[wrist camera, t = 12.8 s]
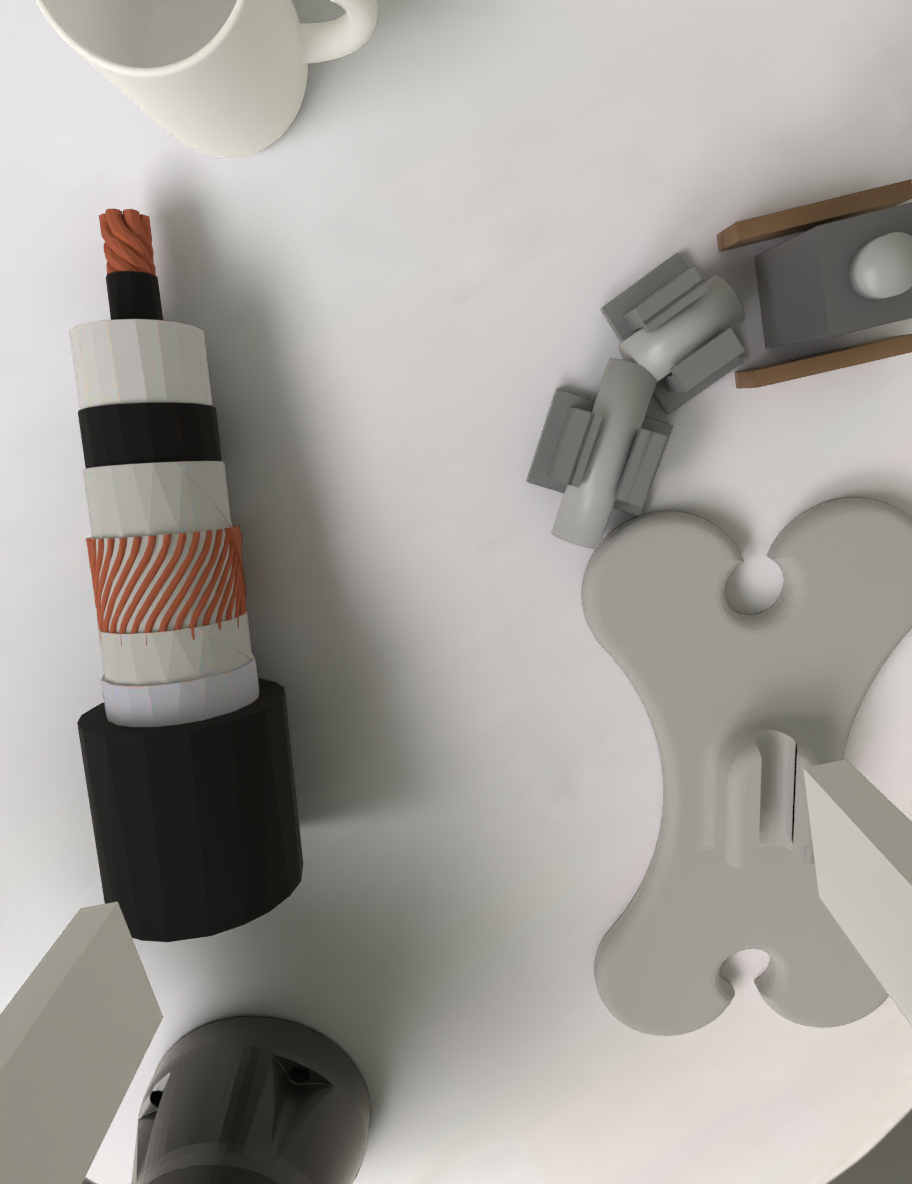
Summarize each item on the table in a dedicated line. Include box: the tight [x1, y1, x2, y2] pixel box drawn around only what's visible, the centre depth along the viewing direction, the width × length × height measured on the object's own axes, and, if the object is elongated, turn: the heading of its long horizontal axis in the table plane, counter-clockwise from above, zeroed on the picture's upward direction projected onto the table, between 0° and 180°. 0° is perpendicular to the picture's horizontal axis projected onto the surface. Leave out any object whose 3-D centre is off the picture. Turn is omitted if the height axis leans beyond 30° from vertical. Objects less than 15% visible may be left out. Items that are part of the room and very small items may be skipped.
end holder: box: [717, 180, 912, 388], centre depth 37 cm, size 8×8×3 cm
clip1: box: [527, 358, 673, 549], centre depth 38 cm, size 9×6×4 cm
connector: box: [754, 203, 912, 348], centre depth 34 cm, size 4×4×8 cm
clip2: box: [601, 253, 745, 414], centre depth 37 cm, size 5×6×4 cm
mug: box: [36, 0, 378, 158], centre depth 31 cm, size 12×8×10 cm
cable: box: [69, 209, 303, 942], centre depth 38 cm, size 10×34×10 cm, turn 4°
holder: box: [581, 498, 912, 1036], centre depth 43 cm, size 19×34×5 cm, turn 4°
